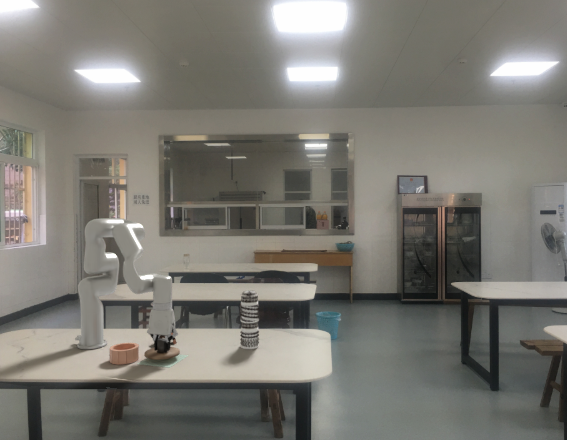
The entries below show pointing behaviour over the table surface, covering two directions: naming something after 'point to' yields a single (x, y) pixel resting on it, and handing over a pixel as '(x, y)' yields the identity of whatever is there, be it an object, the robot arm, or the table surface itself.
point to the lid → (161, 351)
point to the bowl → (124, 353)
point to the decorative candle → (249, 320)
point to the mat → (163, 361)
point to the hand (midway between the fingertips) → (162, 349)
